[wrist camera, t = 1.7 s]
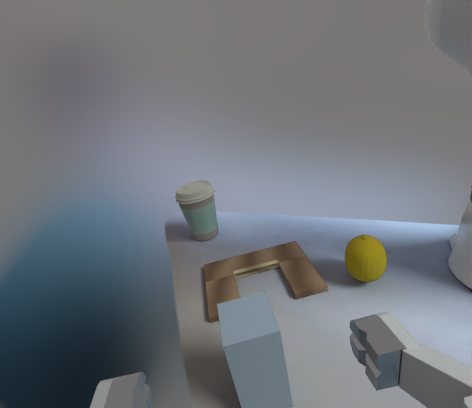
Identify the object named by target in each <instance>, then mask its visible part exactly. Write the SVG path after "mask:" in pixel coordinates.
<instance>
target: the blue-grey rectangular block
mask: <svg viewBox="0 0 472 408" xmlns="http://www.w3.org/2000/svg"><path fill="white" fill-rule="evenodd" d="M217 308H218V315H219V322H220V329H221V336H222V344H223V349H224V352H225V355H226V359H227V362H228V365H229V368H230V372H231V375H232V378H233V382H234V385H235V388H236V392H237V395H238V398H239V402H240V405H241V408H290V407H293V404H292V398H291V392H290V387H289V381H288V375H287V369H286V363H285V357H284V351H283V345H282V339H281V334H280V329H279V327H278V324H277V322H276V319H275V316H274V314H273V311H272V309H271V306H270V303H269V301H268V298H267V296H266V293H265V291H263V292H260V293H256V294H252V295H249V296H245V297H241V298H238V299H234V300H230V301H227V302H223V303H219V304H217Z"/></svg>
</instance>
